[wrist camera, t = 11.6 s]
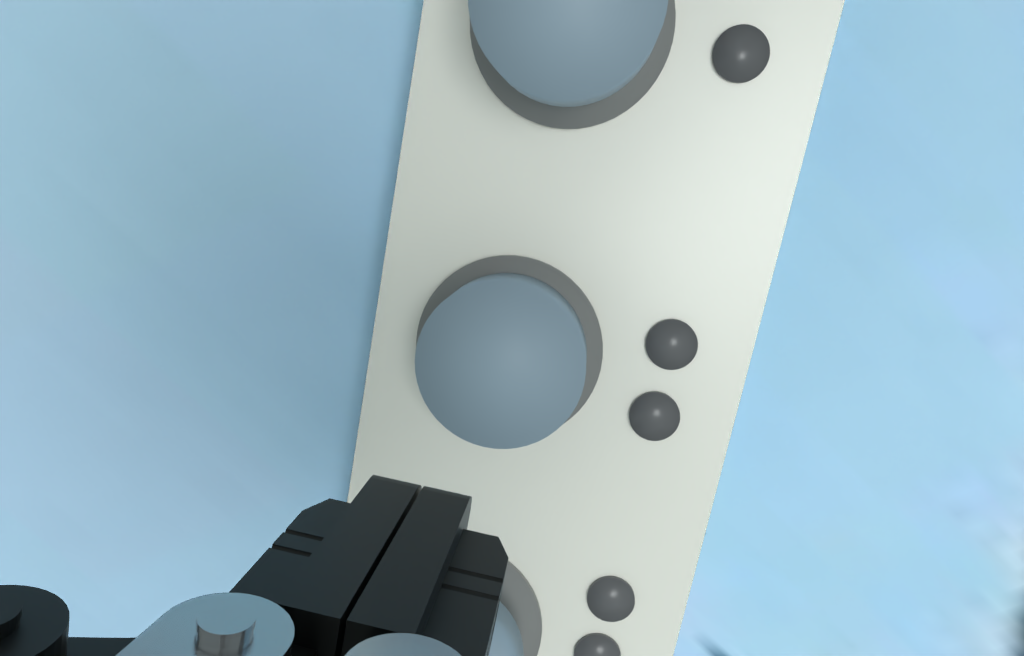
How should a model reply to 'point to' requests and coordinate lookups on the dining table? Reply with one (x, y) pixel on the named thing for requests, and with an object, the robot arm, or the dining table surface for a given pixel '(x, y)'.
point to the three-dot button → (506, 635)
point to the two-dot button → (502, 361)
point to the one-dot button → (567, 44)
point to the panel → (599, 297)
